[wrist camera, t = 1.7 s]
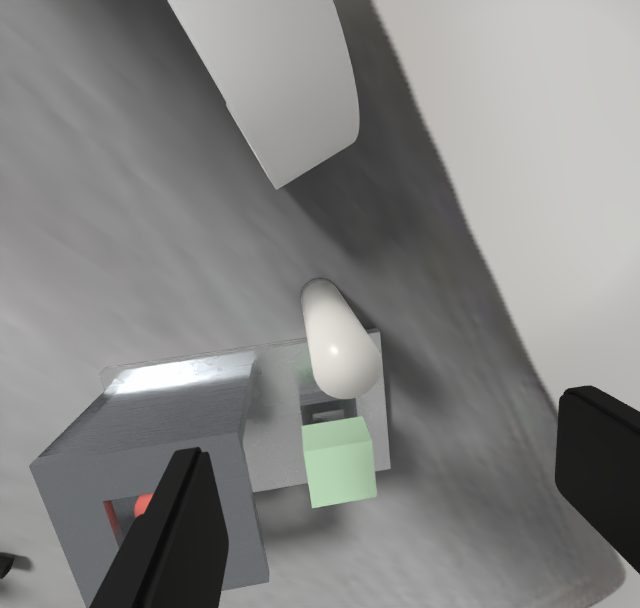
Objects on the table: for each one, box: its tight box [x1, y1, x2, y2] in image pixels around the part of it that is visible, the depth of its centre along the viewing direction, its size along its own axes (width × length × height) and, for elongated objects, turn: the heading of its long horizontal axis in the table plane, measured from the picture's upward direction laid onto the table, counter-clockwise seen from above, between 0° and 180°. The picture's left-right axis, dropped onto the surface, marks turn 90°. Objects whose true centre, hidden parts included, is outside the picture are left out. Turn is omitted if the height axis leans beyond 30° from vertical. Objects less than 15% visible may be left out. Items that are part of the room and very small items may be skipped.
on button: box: [301, 416, 377, 508], centre depth 23 cm, size 4×4×4 cm
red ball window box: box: [29, 328, 391, 608], centre depth 23 cm, size 12×20×9 cm, turn 97°
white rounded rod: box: [301, 278, 382, 399], centre depth 20 cm, size 3×3×12 cm
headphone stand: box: [167, 0, 360, 190], centre depth 17 cm, size 5×6×12 cm
